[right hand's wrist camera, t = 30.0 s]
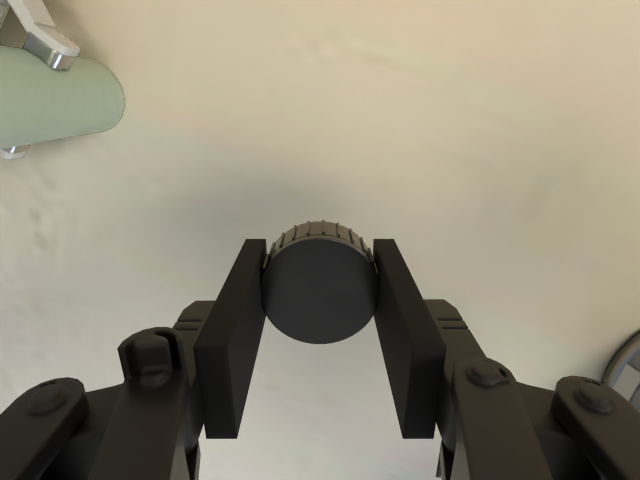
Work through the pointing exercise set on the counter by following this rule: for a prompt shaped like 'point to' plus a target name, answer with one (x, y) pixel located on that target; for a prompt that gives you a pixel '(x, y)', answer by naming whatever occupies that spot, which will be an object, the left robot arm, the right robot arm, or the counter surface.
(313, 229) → the cap
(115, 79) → the bottle
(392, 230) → the counter surface
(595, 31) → the counter surface
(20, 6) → the left robot arm
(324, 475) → the counter surface
